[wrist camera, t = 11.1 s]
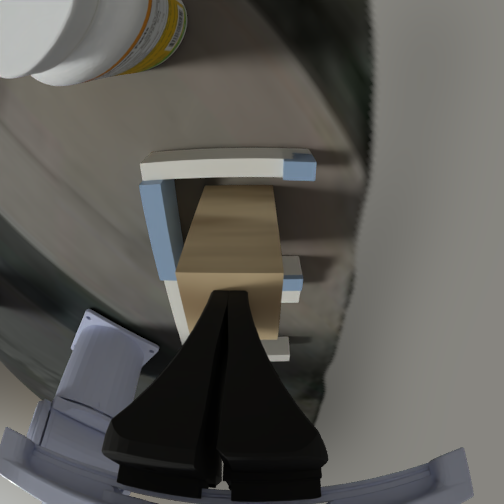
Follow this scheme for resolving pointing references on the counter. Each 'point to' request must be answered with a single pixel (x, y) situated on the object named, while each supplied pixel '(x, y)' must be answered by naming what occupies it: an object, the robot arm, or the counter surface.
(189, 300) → the plug block
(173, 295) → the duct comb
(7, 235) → the counter surface
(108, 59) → the supplement bottle
